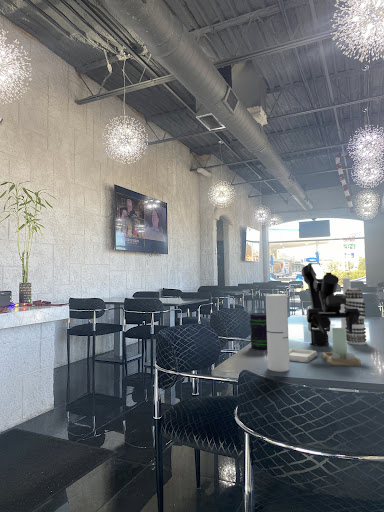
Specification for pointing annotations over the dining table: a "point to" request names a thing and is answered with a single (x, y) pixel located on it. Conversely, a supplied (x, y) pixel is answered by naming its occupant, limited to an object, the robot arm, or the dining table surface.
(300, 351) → the white tray
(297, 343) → the dining table surface
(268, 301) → the cylindrical container
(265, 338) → the storage jar
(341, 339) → the sage green tall cylinder
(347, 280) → the bottle
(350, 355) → the pebble
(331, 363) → the wooden tray
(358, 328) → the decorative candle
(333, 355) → the white ball
